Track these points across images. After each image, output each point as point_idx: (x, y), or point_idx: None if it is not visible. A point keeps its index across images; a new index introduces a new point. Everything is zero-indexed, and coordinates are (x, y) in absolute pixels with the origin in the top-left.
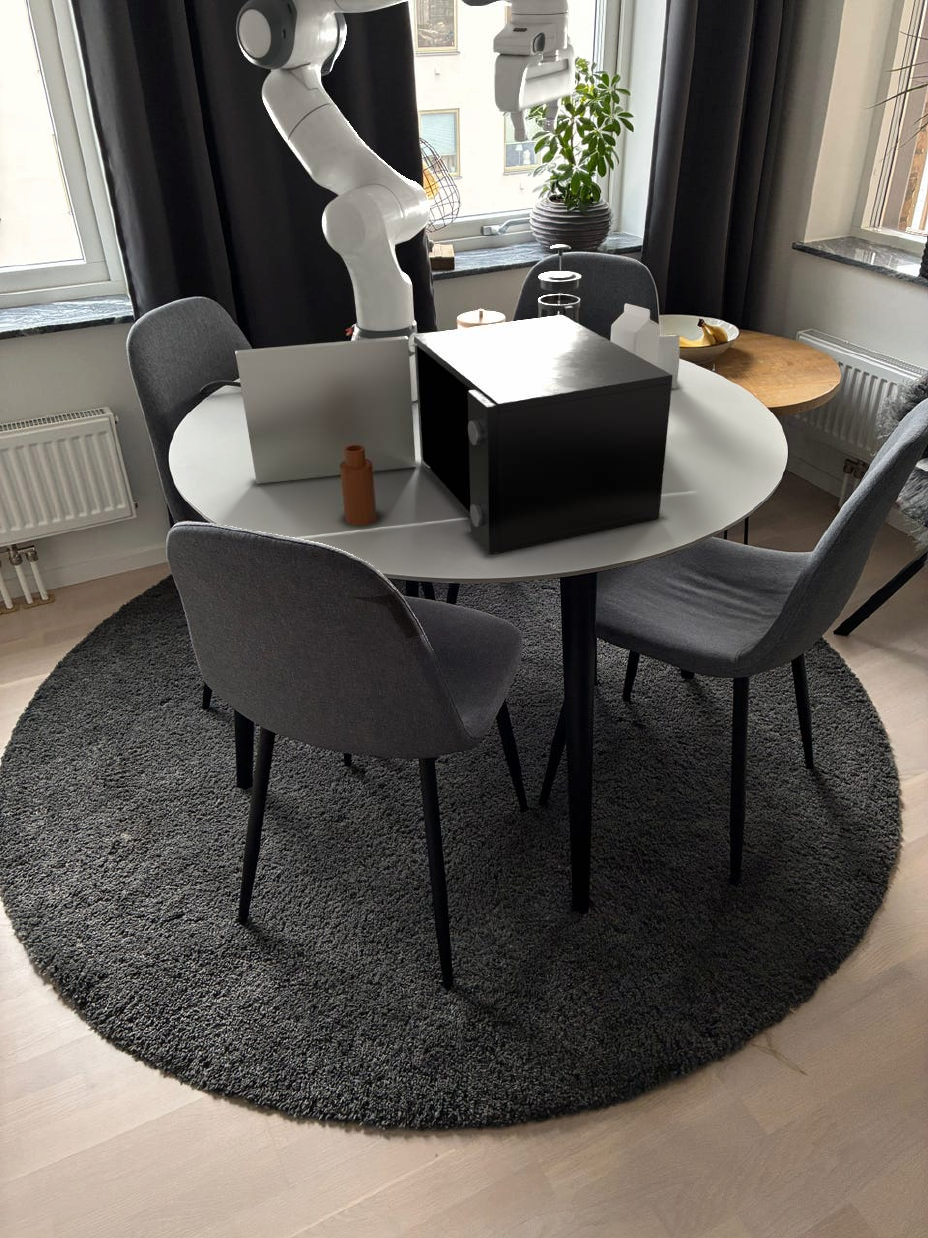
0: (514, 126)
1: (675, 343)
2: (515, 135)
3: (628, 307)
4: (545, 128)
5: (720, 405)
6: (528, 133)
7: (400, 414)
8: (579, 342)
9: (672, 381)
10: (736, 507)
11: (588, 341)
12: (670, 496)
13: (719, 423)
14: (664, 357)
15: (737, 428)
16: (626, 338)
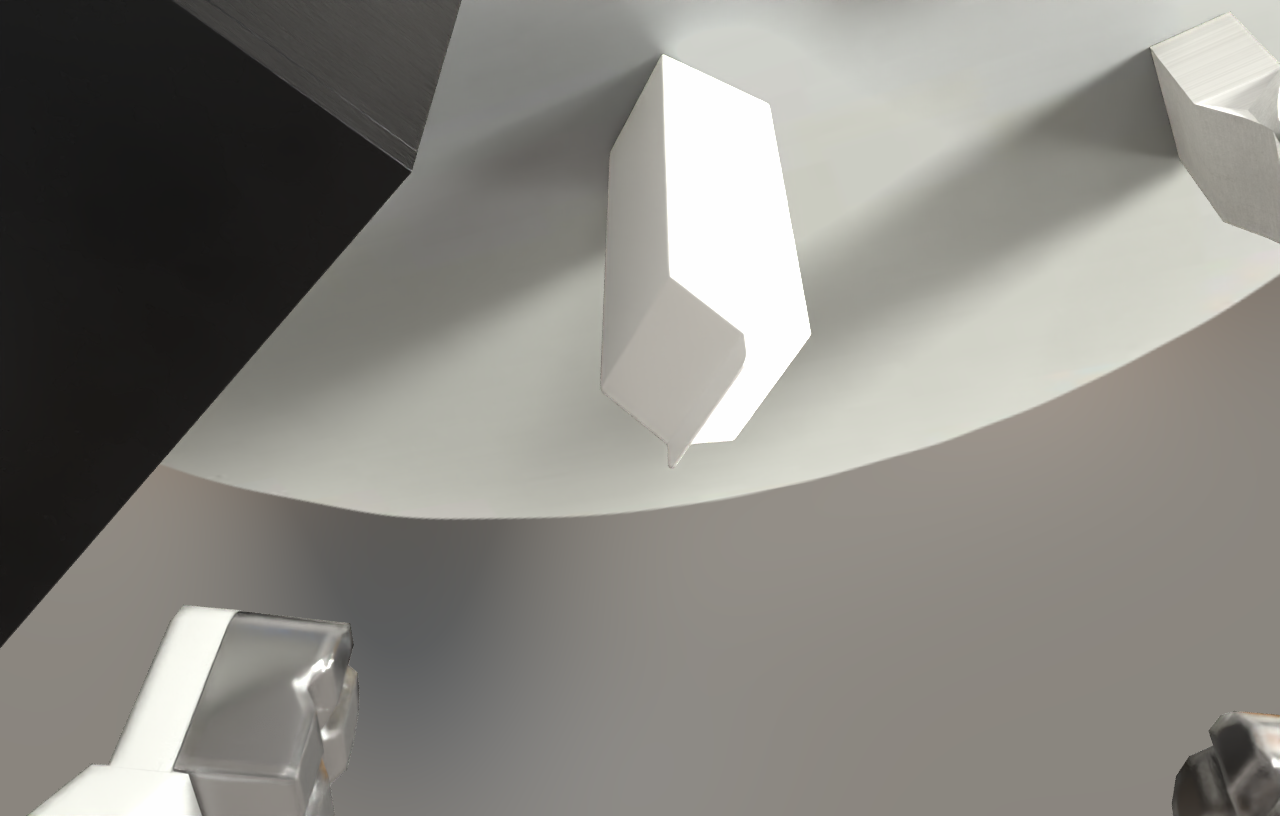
0: (47, 812)
1: (1271, 228)
2: (151, 673)
3: (730, 369)
4: (1225, 760)
5: (1014, 324)
6: (331, 800)
7: None
8: (57, 380)
9: (1184, 158)
10: (306, 489)
11: (95, 404)
12: (269, 362)
13: (846, 354)
14: (1216, 174)
15: (820, 401)
16: (622, 328)
